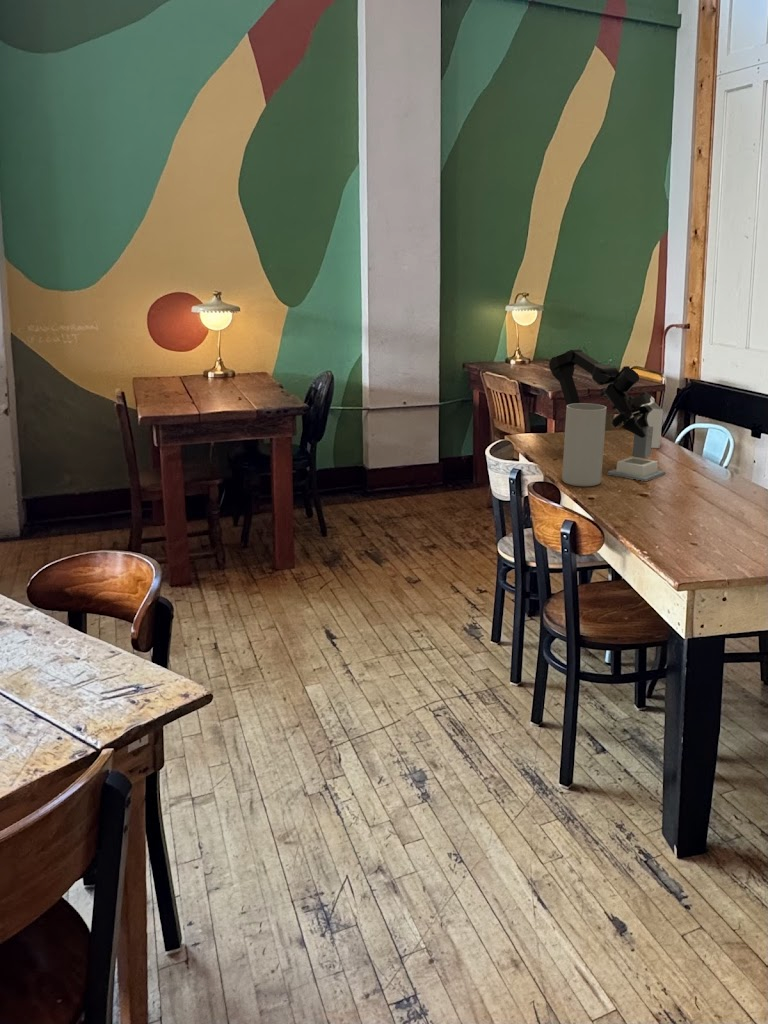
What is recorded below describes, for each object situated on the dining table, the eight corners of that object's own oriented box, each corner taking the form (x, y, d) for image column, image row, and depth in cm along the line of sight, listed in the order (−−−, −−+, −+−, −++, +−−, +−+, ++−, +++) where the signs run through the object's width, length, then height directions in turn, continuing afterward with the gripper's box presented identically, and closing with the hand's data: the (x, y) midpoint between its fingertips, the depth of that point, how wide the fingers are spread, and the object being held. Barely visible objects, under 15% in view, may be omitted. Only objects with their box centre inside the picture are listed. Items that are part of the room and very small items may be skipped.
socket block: (645, 481, 290) (646, 468, 289) (607, 474, 299) (608, 461, 298) (665, 474, 300) (666, 461, 299) (628, 467, 309) (629, 454, 308)
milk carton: (655, 444, 344) (660, 396, 339) (659, 448, 337) (664, 399, 332) (637, 444, 345) (641, 395, 339) (640, 448, 338) (644, 399, 333)
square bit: (644, 458, 295) (647, 428, 292) (632, 456, 298) (635, 427, 295) (650, 456, 298) (653, 426, 295) (638, 453, 301) (641, 425, 298)
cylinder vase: (572, 488, 282) (577, 411, 275) (555, 478, 294) (559, 404, 287) (607, 485, 286) (613, 409, 278) (589, 476, 297) (594, 402, 290)
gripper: (623, 387, 287) (652, 425, 283) (649, 381, 300) (677, 417, 297) (599, 408, 294) (627, 446, 291) (626, 401, 308) (652, 437, 304)
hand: (647, 436), depth 295 cm, fingers closed on square bit, 4 cm apart
